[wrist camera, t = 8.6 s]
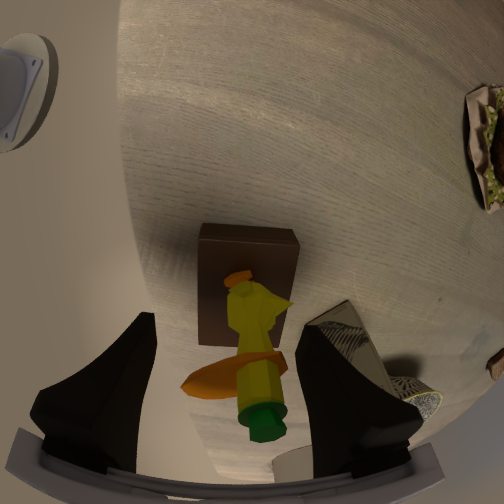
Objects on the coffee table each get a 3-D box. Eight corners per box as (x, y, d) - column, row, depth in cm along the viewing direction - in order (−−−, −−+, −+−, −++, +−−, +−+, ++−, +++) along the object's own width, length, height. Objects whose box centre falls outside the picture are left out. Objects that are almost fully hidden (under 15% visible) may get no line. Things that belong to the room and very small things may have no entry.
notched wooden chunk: (499, 345, 39) (511, 344, 35) (504, 365, 37) (516, 366, 33) (480, 362, 40) (492, 363, 35) (485, 383, 38) (497, 385, 33)
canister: (267, 452, 41) (278, 542, 23) (350, 435, 41) (374, 521, 23) (276, 472, 48) (285, 541, 31) (342, 458, 48) (359, 525, 30)
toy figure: (208, 315, 21) (198, 461, 10) (185, 280, 19) (153, 433, 9) (290, 284, 20) (334, 432, 10) (273, 245, 19) (317, 399, 8)
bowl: (338, 363, 29) (356, 414, 23) (437, 342, 30) (462, 379, 24) (315, 424, 37) (324, 463, 30) (398, 405, 38) (413, 437, 31)
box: (348, 297, 25) (405, 407, 14) (362, 323, 27) (412, 422, 15) (301, 325, 26) (335, 442, 15) (320, 347, 28) (353, 452, 16)
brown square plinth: (202, 222, 21) (198, 238, 18) (292, 229, 22) (301, 245, 19) (201, 323, 25) (198, 345, 22) (274, 326, 26) (278, 348, 23)
